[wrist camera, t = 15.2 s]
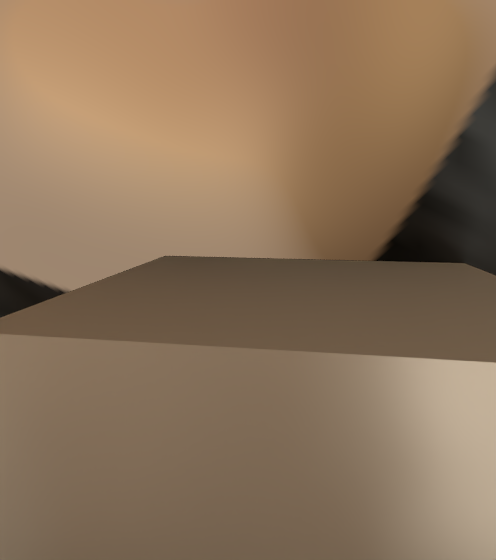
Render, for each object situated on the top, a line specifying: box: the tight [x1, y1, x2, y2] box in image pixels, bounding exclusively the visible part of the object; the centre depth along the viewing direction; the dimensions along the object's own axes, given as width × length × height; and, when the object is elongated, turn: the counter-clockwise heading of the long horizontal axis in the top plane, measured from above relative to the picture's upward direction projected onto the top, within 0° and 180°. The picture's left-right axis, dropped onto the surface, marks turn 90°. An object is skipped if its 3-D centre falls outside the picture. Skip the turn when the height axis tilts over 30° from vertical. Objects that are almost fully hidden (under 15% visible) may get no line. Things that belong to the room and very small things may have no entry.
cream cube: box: [0, 256, 496, 560], centre depth 8 cm, size 8×8×7 cm
